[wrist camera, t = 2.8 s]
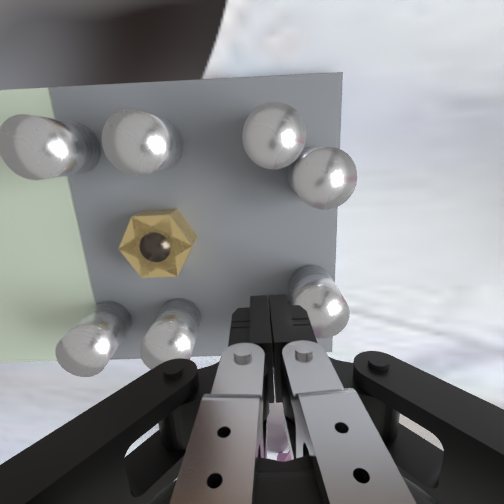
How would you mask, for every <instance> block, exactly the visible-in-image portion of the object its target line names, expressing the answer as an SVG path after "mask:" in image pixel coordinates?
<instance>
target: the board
mask: <svg viewBox="0 0 504 504" xmlns="http://www.w3.org/2000/svg"><path fill="white" fill-rule="evenodd" d="M342 76H343V72H337V73H318V74H298V75H279V76H259V77H240V78H220V79H201V80H182V81H163V82H144V83H143V82H142V83H123V84H104V85H84V86H66V87H49V88H33V89H13V90H0V127H1V125H2V124H3V122H4V121H5V120H7V119H8V118H10V117H12V116H14V115H19V114H27V115H34V116H41V117H47V118H54V119H61V120H68V121H75V122H79V123H82V124H84V125H86V126H87V127H88V128H90V129H91V130H92V131H93V132H94V134H95V135H96V137H97V138H98V141H99V143H100V147H101V156H100V160H99V162H98V164H97V166H96V167H95V168H94V169H93V170H91V171H90V172H87V173H83V174H77V175H70V176H63V177H57V178H50V179H44V180H29V179H26V178H23V177H21V176H19V175H17V174H16V173H14V172H13V171H12V170H11V169H10V168H9V167H8V166H7V165H6V164H5V162H4V161H3V159H2V157H1V155H0V363H6V362H35V361H57V358H56V355H55V349H56V345H57V343H58V342H59V341H60V340H61V339H62V338H63V337H64V336H65V335H66V334H67V333H68V332H69V331H70V330H71V329H72V328H73V327H74V326H75V325H76V324H77V323H78V322H79V321H80V320H81V319H82V318H83V317H84V316H85V315H86V314H87V313H88V312H89V311H90V310H91V309H92V308H93V307H94V306H95V305H96V304H98V303H99V302H102V301H114V302H117V303H119V304H121V305H123V306H124V307H125V308H126V309H127V310H128V311H129V313H130V315H131V318H132V326H131V329H130V330H129V332H128V333H127V335H126V336H125V338H124V339H123V341H122V342H121V344H120V345H119V347H118V348H117V350H116V351H115V352H114V354H113V355H112V357H111V358H110V360H111V359H139V358H141V356H140V345H141V342H142V341H143V339H144V337H145V335H146V334H147V332H148V330H149V328H150V327H151V325H152V323H153V322H154V320H155V318H156V316H157V315H158V313H159V311H160V309H161V308H162V306H163V305H164V304H165V303H166V302H167V301H169V300H171V299H174V298H184V299H187V300H190V301H192V302H193V303H194V304H196V305H197V307H198V308H199V310H200V312H201V316H202V321H201V324H200V328H199V331H198V334H197V338H196V341H195V344H194V348H193V351H192V354H191V357H196V356H221V355H222V353H223V351H224V350H225V349H226V348H228V342H229V334H230V327H231V319H232V314H233V313H234V312H235V311H236V309H237V308H247V307H250V296H257V295H272V294H286V296H287V298H288V299H289V300H290V301H291V297H290V293H289V289H288V283H289V279H290V277H291V275H292V274H293V273H294V272H295V271H296V270H297V269H298V268H300V267H302V266H305V265H317V266H320V267H322V268H324V269H325V270H326V271H327V272H328V273H329V274H330V276H331V278H332V279H333V281H334V283H335V259H336V233H337V207H335V208H333V209H327V210H321V209H316V208H313V207H311V206H309V205H308V204H306V203H305V202H304V201H303V200H302V199H301V198H300V197H299V196H298V195H297V194H296V192H295V191H294V190H293V189H292V188H291V186H290V184H289V182H288V178H287V169H288V166H286V167H284V168H281V169H266V168H263V167H261V166H259V165H257V164H256V163H254V162H253V161H252V160H251V159H250V158H249V156H248V155H247V153H246V151H245V149H244V146H243V140H242V132H243V127H244V124H245V121H246V119H247V117H248V116H249V115H250V113H251V112H252V111H253V110H254V109H255V108H257V107H258V106H260V105H262V104H264V103H268V102H282V103H285V104H288V105H290V106H291V107H293V108H294V109H295V110H296V111H297V112H298V113H299V114H300V116H301V117H302V119H303V122H304V125H305V129H306V141H305V145H304V148H303V149H305V148H309V147H333V148H337V149H340V128H341V102H342ZM124 109H136V110H140V111H143V112H146V113H149V114H152V115H155V116H158V117H161V118H164V119H167V120H169V121H170V122H172V123H173V124H174V125H175V126H176V127H177V128H178V130H179V131H180V133H181V136H182V139H183V153H182V156H181V158H180V160H179V161H178V162H177V163H176V164H175V165H174V166H173V167H171V168H169V169H165V170H161V171H157V172H153V173H149V174H145V175H140V176H134V175H129V174H126V173H123V172H121V171H120V170H118V169H117V168H115V167H114V166H113V165H112V164H111V162H110V161H109V160H108V158H107V157H106V155H105V152H104V150H103V146H102V131H103V127H104V125H105V123H106V121H107V120H108V119H109V118H110V117H111V116H112V115H113V114H114V113H116V112H118V111H120V110H124ZM157 209H178V210H179V211H180V213H181V214H182V216H183V217H184V218H185V220H186V221H187V223H188V224H189V225H190V227H191V228H192V230H193V231H194V232H195V234H196V235H197V237H198V238H197V240H196V242H195V244H194V246H193V248H192V250H191V252H190V254H189V256H188V258H187V260H186V262H185V264H184V266H183V268H182V270H181V271H180V273H179V275H178V276H177V277H152V278H141V277H140V275H139V274H138V273H137V272H136V270H135V269H134V268H133V267H132V265H131V264H130V263H129V262H128V260H127V259H126V258H125V257H124V255H123V254H122V253H121V252H120V250H119V246H120V244H121V241H122V239H123V236H124V234H125V231H126V229H127V227H128V224H129V222H130V219H131V217H132V216H133V215H135V214H137V213H139V212H141V211H142V210H157ZM291 302H292V301H291ZM332 337H333V336H332ZM332 337H329V338H323V339H318V338H316V340H317V343H318V344H319V345H321V346H322V347H323V348H324V349H325V351H326V352H332Z"/></svg>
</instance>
